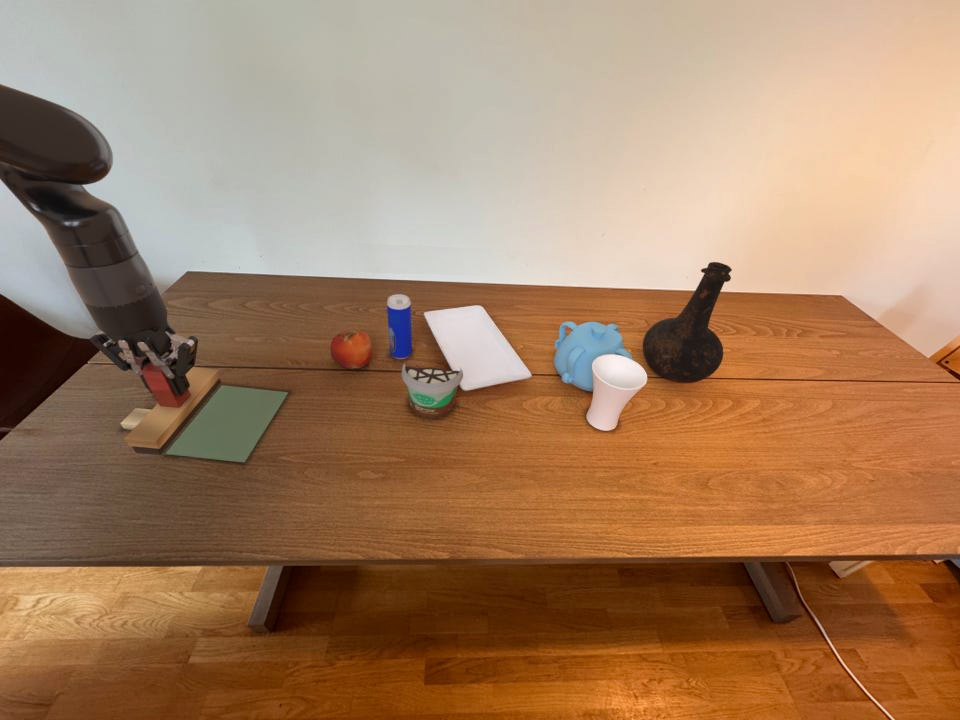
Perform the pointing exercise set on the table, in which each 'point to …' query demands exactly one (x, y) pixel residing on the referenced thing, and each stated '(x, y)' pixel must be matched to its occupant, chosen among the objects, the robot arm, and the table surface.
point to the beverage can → (399, 326)
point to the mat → (229, 424)
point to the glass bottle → (689, 334)
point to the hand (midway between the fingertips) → (170, 390)
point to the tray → (475, 347)
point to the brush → (170, 408)
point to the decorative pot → (585, 351)
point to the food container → (431, 390)
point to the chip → (134, 418)
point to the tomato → (351, 349)
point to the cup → (613, 388)
